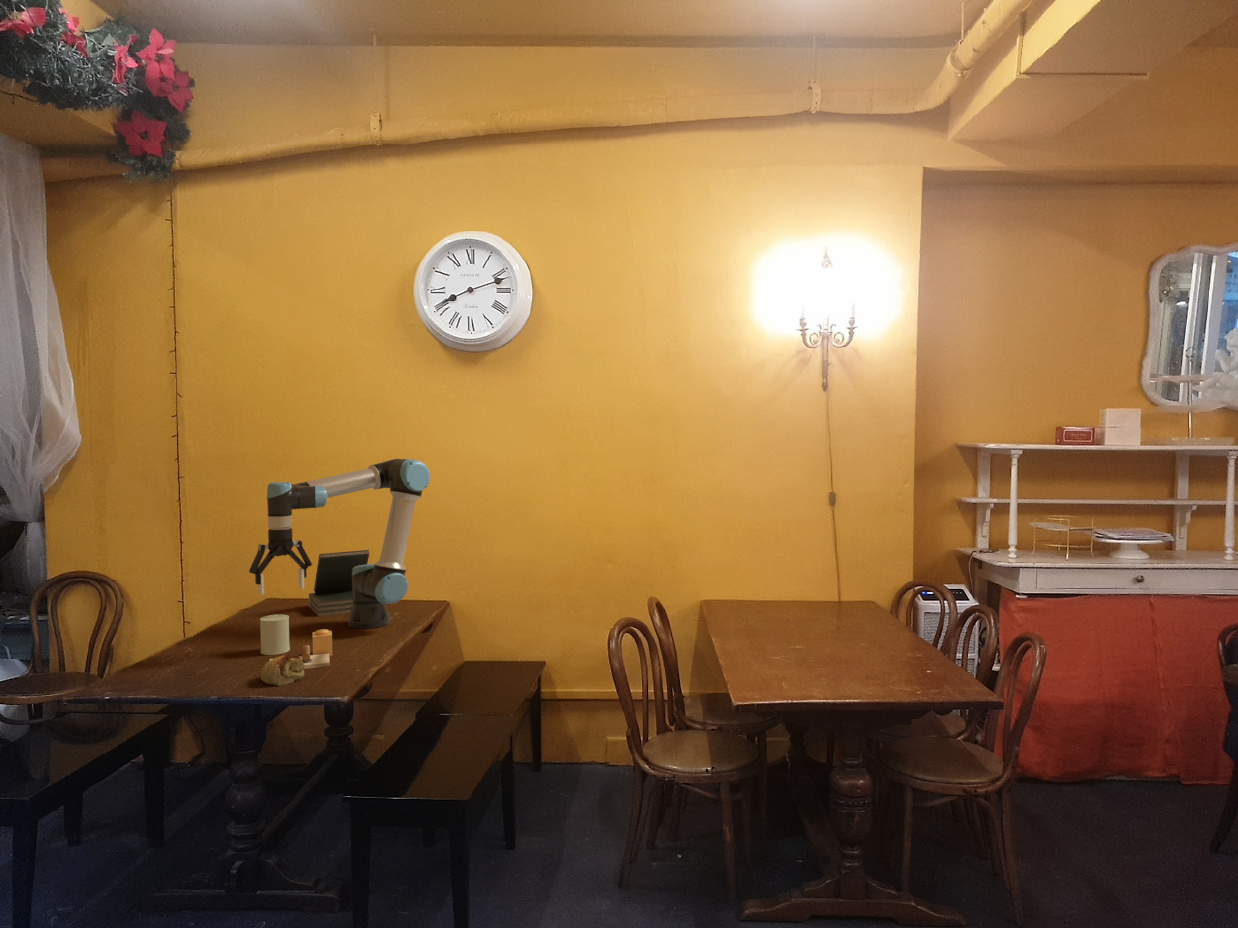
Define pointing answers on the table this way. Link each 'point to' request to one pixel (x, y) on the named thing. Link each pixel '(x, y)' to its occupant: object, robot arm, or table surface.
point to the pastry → (283, 670)
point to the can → (274, 634)
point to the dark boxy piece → (335, 582)
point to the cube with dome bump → (322, 642)
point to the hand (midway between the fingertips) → (281, 590)
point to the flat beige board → (313, 659)
